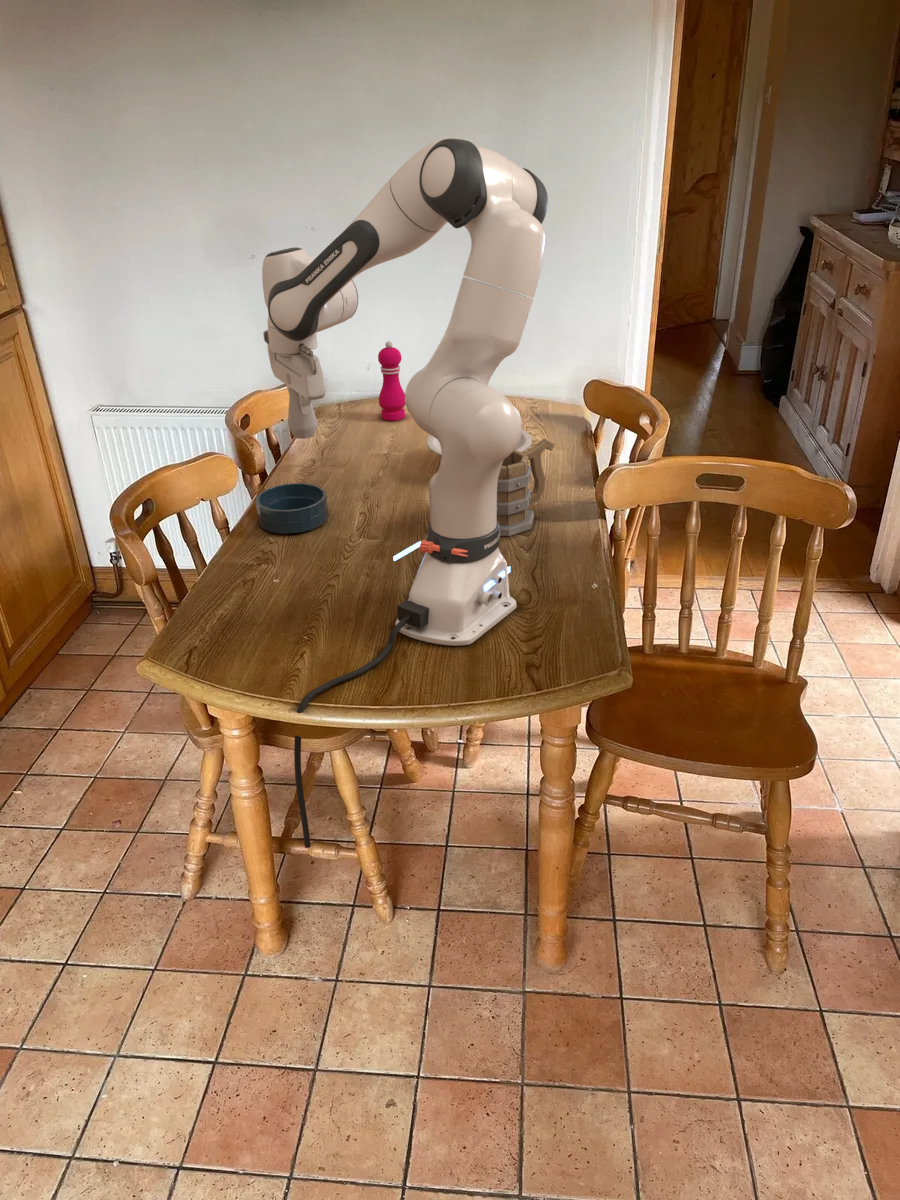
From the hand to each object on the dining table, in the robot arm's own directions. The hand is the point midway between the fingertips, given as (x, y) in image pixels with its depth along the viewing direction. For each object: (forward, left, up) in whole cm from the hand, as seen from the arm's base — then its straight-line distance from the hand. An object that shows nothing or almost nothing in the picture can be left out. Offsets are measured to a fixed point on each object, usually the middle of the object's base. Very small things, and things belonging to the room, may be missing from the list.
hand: (301, 410), depth 181 cm
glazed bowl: (-3, +3, -23) cm, 23 cm away
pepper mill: (+62, +14, -13) cm, 64 cm away
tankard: (+15, -39, -23) cm, 48 cm away
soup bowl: (+38, -21, -23) cm, 49 cm away
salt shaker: (0, 0, -5) cm, 5 cm away
